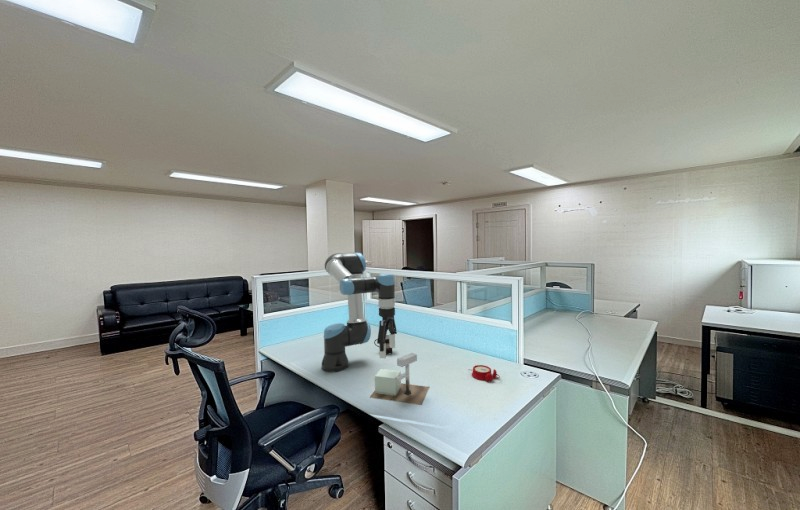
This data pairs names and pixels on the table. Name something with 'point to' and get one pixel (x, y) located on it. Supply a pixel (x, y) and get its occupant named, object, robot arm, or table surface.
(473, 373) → the alarm clock
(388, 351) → the coffee mug
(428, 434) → the table surface
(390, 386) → the pale green block
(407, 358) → the grey t-shaped stand
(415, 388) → the board
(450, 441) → the table surface
